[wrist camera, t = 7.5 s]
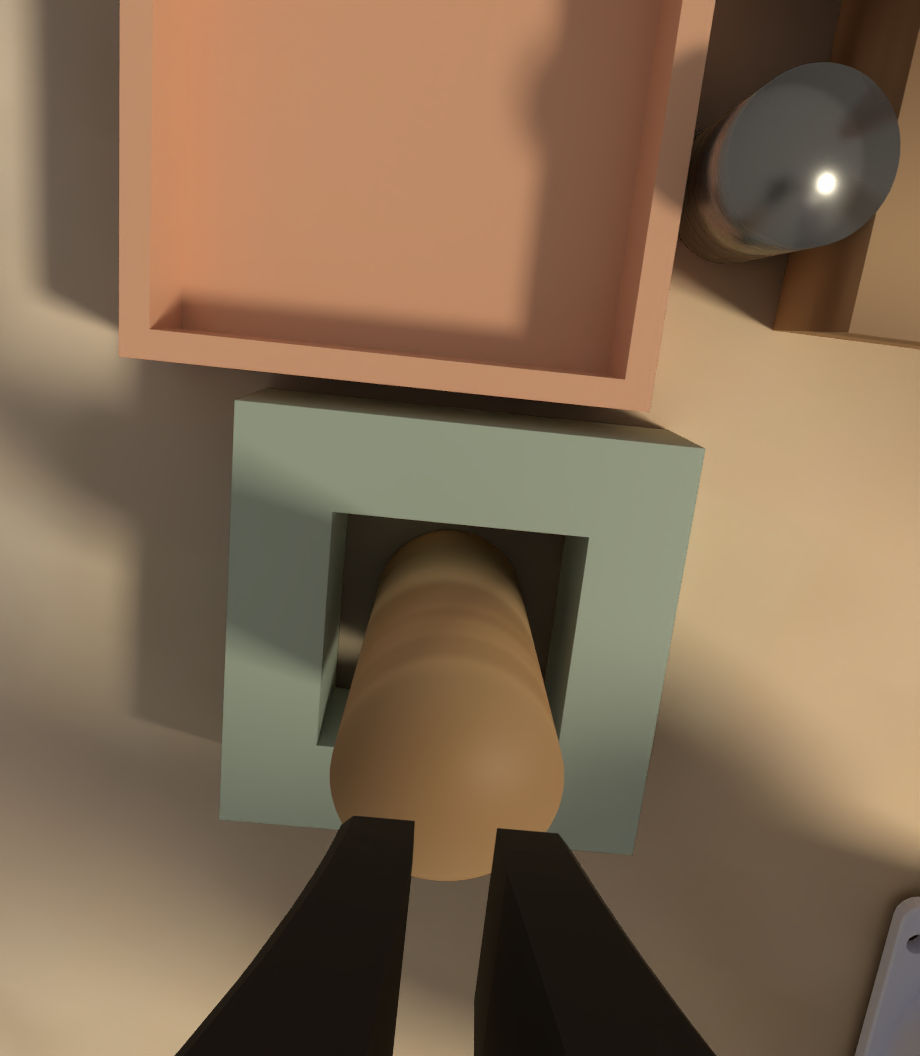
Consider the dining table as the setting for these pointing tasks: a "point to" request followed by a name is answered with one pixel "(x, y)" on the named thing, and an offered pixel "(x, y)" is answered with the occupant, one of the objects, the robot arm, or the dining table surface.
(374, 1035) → the robot arm
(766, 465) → the dining table surface
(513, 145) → the dish
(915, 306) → the brown wooden block
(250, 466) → the socket block
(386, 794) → the dowel
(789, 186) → the cylinder
